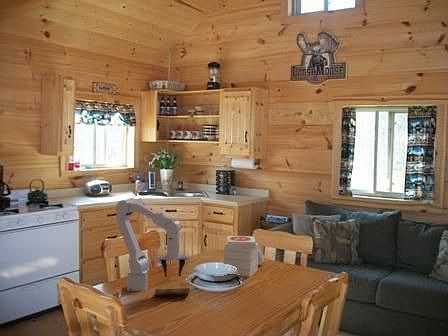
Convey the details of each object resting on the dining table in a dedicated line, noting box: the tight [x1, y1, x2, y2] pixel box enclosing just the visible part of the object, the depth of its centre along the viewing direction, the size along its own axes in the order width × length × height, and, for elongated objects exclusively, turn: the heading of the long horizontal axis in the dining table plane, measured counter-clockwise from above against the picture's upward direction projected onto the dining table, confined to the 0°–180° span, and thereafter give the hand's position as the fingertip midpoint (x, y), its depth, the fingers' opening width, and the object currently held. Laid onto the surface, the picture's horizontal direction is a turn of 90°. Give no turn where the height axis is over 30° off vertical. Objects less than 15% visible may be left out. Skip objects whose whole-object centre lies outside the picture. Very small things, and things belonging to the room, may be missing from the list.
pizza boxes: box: [223, 235, 265, 278], centre depth 266 cm, size 19×30×18 cm, turn 159°
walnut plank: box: [154, 287, 190, 297], centre depth 215 cm, size 15×9×2 cm, turn 99°
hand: (172, 276), depth 219 cm, fingers open, 6 cm apart
